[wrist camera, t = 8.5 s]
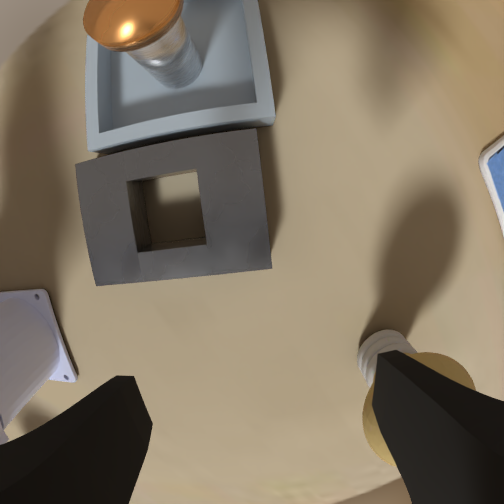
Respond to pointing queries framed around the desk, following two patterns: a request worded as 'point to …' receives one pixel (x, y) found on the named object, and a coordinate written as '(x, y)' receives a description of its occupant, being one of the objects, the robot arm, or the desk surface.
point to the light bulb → (367, 366)
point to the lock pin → (147, 37)
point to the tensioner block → (212, 201)
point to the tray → (190, 97)
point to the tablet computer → (494, 176)
